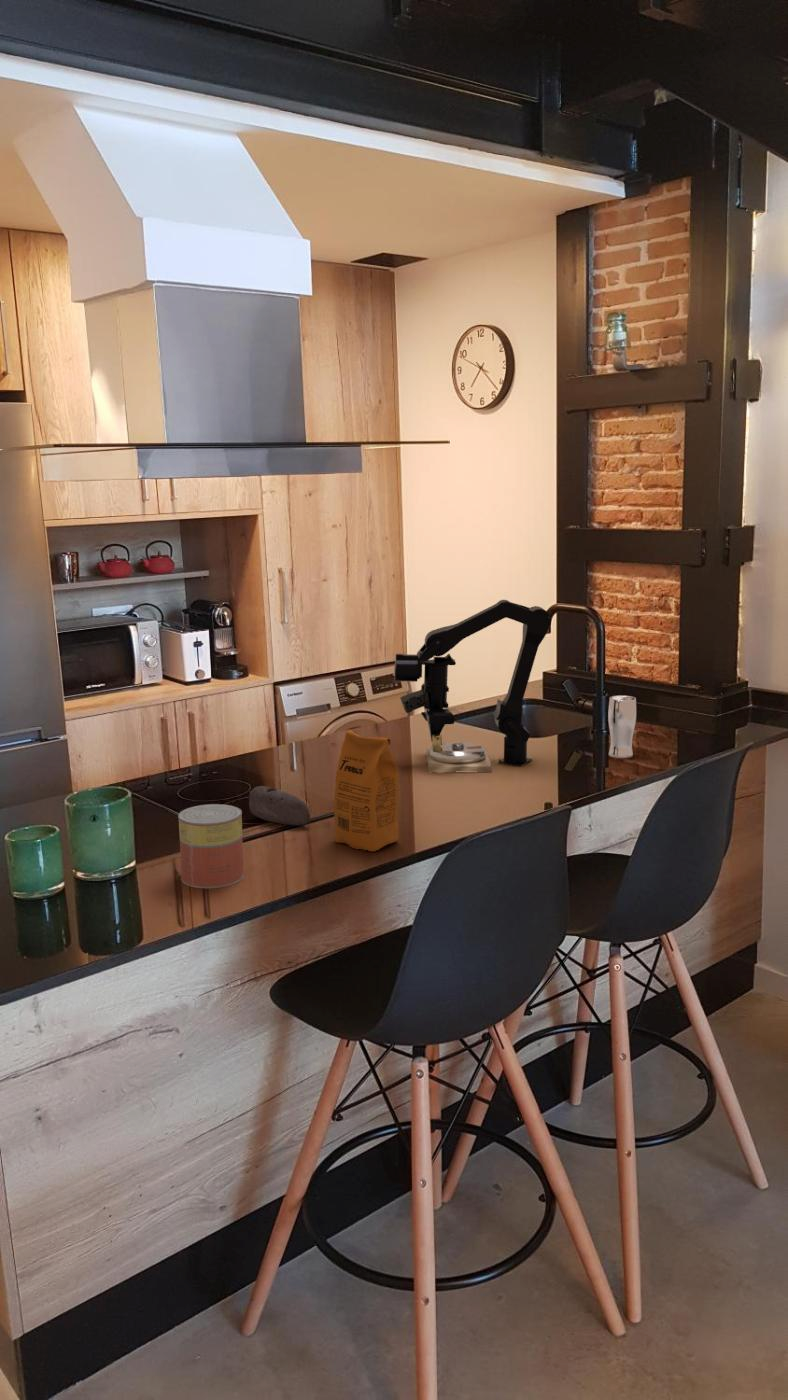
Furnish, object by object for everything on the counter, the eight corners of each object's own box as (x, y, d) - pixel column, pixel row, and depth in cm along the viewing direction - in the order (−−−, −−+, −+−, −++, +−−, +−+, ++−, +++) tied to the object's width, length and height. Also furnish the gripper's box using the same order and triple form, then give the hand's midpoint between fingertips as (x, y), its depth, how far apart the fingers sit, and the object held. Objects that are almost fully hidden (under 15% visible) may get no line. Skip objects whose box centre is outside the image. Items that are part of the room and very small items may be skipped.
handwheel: (472, 747, 279) (472, 725, 278) (495, 760, 266) (495, 737, 265) (421, 751, 274) (421, 729, 273) (442, 765, 261) (442, 742, 260)
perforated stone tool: (317, 826, 223) (316, 793, 222) (300, 832, 219) (300, 800, 218) (264, 813, 232) (263, 782, 230) (247, 819, 228) (245, 788, 226)
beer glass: (605, 757, 274) (607, 700, 271) (608, 751, 280) (610, 694, 277) (633, 759, 272) (635, 701, 269) (635, 752, 278) (637, 696, 275)
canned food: (247, 865, 201) (245, 803, 199) (240, 887, 190) (238, 822, 187) (186, 866, 201) (183, 804, 198) (176, 889, 190) (173, 824, 187)
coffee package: (361, 829, 221) (360, 724, 216) (406, 843, 212) (405, 734, 208) (326, 841, 214) (323, 733, 209) (370, 855, 205) (369, 743, 201)
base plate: (484, 753, 279) (484, 747, 279) (491, 772, 262) (491, 766, 261) (426, 754, 279) (426, 748, 279) (429, 773, 262) (429, 767, 261)
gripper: (397, 673, 274) (396, 732, 278) (409, 691, 256) (408, 754, 260) (440, 672, 275) (439, 731, 279) (455, 690, 257) (453, 753, 261)
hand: (433, 742), depth 270 cm, fingers closed
